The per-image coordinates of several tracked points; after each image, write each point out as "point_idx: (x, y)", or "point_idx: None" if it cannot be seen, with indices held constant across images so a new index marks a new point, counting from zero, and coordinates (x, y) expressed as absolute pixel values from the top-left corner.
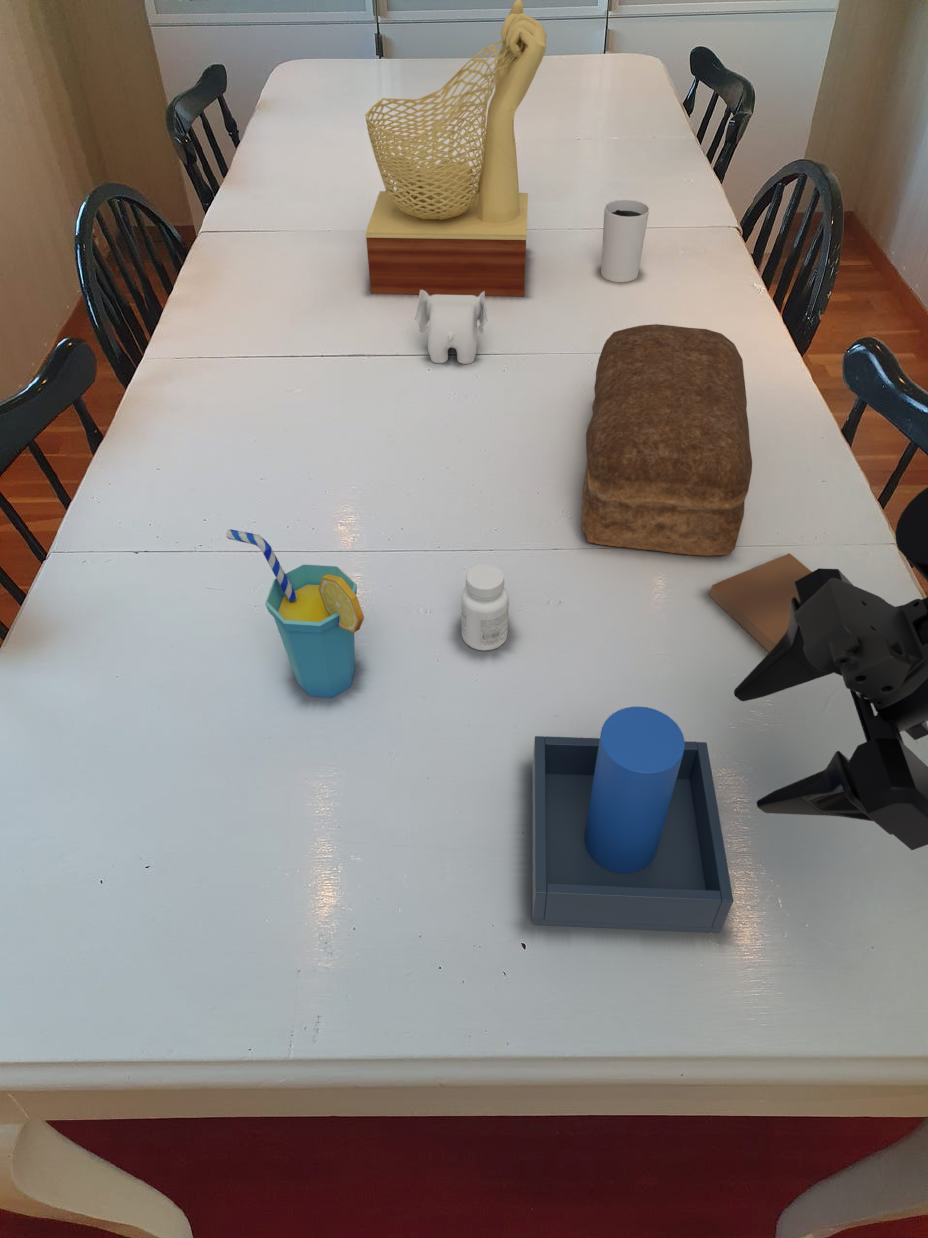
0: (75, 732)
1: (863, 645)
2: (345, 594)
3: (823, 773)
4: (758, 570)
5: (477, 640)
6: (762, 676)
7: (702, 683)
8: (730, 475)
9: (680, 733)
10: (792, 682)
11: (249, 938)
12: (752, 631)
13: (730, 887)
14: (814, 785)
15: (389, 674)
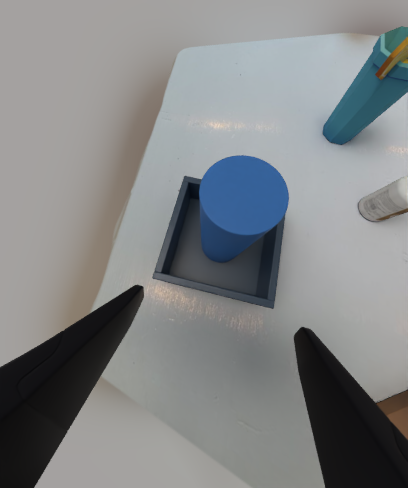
0: (305, 52)
1: None
2: None
3: (7, 404)
4: None
5: (367, 198)
6: (334, 385)
7: (334, 337)
8: None
9: (245, 232)
10: (321, 441)
11: (205, 102)
12: (390, 403)
13: (161, 280)
14: (31, 364)
15: (338, 159)
